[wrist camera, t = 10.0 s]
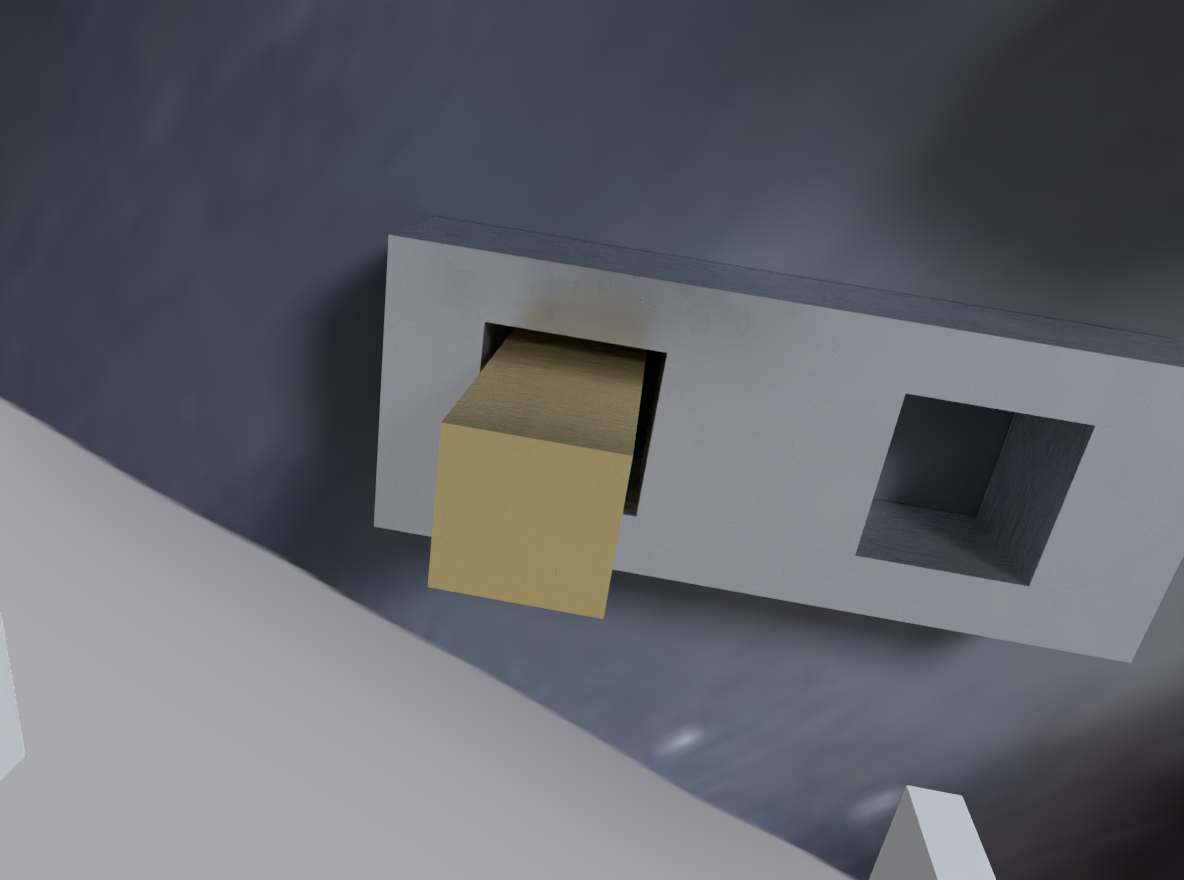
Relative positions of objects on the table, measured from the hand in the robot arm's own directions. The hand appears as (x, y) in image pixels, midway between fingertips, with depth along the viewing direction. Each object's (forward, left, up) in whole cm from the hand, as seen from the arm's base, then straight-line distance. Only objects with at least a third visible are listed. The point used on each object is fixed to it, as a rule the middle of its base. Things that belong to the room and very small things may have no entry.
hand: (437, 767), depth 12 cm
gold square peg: (0, 0, -20) cm, 20 cm away
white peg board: (0, +7, -20) cm, 21 cm away
